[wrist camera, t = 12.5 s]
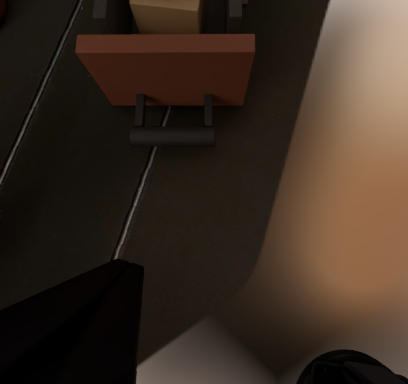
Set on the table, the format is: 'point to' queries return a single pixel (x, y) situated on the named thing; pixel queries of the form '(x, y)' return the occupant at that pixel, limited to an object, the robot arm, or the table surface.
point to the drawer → (169, 68)
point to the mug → (2, 9)
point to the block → (170, 16)
